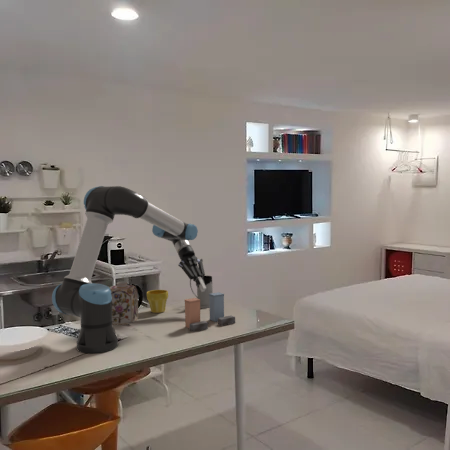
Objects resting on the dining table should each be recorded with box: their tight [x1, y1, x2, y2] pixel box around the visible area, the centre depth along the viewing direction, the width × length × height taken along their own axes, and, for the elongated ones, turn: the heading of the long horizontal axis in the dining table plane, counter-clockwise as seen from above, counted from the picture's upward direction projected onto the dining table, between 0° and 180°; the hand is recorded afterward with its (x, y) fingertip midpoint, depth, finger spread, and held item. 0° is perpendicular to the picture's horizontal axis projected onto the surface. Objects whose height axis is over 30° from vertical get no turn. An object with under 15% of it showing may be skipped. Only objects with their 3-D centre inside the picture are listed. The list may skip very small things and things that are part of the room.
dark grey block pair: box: [189, 315, 236, 333], centre depth 205 cm, size 26×14×4 cm, turn 125°
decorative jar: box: [109, 281, 139, 326], centre depth 214 cm, size 12×12×18 cm
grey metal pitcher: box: [189, 275, 214, 309], centre depth 242 cm, size 9×14×15 cm, turn 53°
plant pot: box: [146, 289, 169, 314], centre depth 232 cm, size 10×10×10 cm
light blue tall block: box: [209, 291, 225, 322], centre depth 210 cm, size 5×4×12 cm
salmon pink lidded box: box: [184, 297, 201, 330], centre depth 200 cm, size 5×4×12 cm
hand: (203, 289), depth 220 cm, fingers closed
